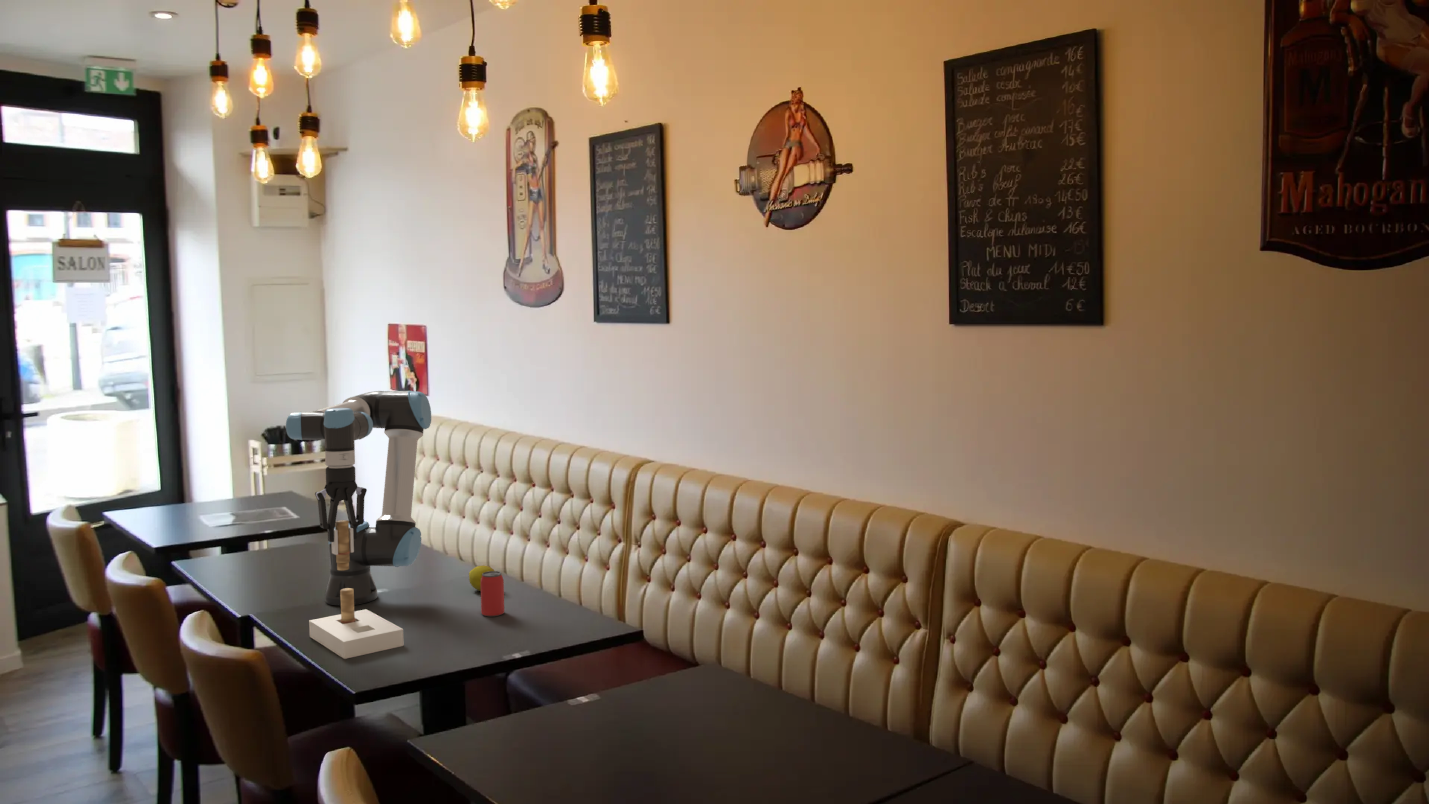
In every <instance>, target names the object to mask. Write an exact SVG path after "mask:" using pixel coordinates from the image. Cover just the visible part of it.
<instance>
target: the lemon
mask: <svg viewBox="0 0 1429 804" xmlns="http://www.w3.org/2000/svg"><path fill="white" fill-rule="evenodd" d="M489 571H495V570H494V568H492V567H490V566H488V565H484V564H483V565H478V566H475V567H474V568H472V569H471V570H470V571H469V573H468V577H469V578H468V580H469V584H470V585H471V586H472V587H473V588H474V589H475V590H476V591H480V592H481V578H482V574H483V573H484V572H489Z"/></svg>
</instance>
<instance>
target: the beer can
mask: <svg viewBox="0 0 1429 804" xmlns="http://www.w3.org/2000/svg"><path fill="white" fill-rule="evenodd" d="M504 582H505V581H504V578H503V575H502V572H501V571H498V570H497V571H496V570H494V571H489V572H484V573H483V574H482V578H481V591H480V608H481V609H480V610H481V611H480V612H481V615H482V616H484V617H492V618H493V617H499V616H502V615H503V614H504V613H505V585H504V584H505V583H504Z"/></svg>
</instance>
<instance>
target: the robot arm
mask: <svg viewBox="0 0 1429 804" xmlns="http://www.w3.org/2000/svg"><path fill="white" fill-rule="evenodd" d="M287 416H288V417H286V422H285V430H286V434H287V436H288V438H290V439H292V440H299V441H300V440H301V441H303V440H305V441H306V440H309V441H310V440H320V441H321V440H323V441H324V454H325V456H324V457H325V458H324V459H325V460H324V461H325V463H324V464H325V466H326V468H325V486H324V488H323V489H322V490H320V491H316V492H315V493H314V495H315V496H314V497H316V499H317V507H318V508H317V509H318V519H319V527H320V528H321V529H324V530H327V541H328V543H327V544H328V555H329V556H328V557H329V573H330V574H329V579H328V582H327V586H326V590H325V592H324V601H325V603H326V604H327V605H331V606H338V607H339V606H340V607H341V597H340V590H341V589H345V588H352V589H354V606H355V605H356V606H357V605H362V604H367V603H371V602H373V601H374V600H376V599H377V598H378V589H377V586H376V584H375V580H374V579H373V576H372V572H371V567H395V568H399V567H409V566H411V565H413V564H414V563H415V561H416V560H417V558H418V556H419V553H420V550H421V546H422V532H421V530H420V528H418V527H417V526H416V525H417V524H416V521H415V520H414V518H412V510H413V509H412V508H413V500H414V497H413V496H414V487H415V485H414V484H415V475H416V474H415V473H416V461H417V453H418V452H417V450H418V441H419V439H421V438H422V437H423V436H424V430H427V429H429V428H430V427H431V423H432V409H431V405H430V402H429V398H428V396H427V395H426V394H425V393H424V392H422V391H417V390H416V391H415V390H385V391H384V390H375V391H369V392H365V393H361V394H358V395H354V396H350V397H348V398H346V399H345V400H343V401H342V403H338V404H335V405H334V404H333V405H330V406H327V407H323V408H320V409H316V410H312V411H308V412H307V411H305V412H302V411H300V412H291V413H290V414H289V415H287ZM373 429H384V430H383V432H384V434H385V435H386V437H387V438H388V444H387V446H388V447H387V454H386V455H387V456H386V468H385V476H384V478H385V479H384V486H383V487H384V488H383V499H382V509H381V510H382V511H381V516H380V517H378V518H377V519H376V521H375V527H372V526H371V527H370V523H369V521H364V519H365V518H364V516H365V496H366V494H367V491H368V490H367V488H365V487H360V486H358V484H357V482H356V467H355V466H354V465H355V464H356V454H355V453H356V452H355V450H356V449H355V444H356V443H355V441H358V440H362V439H364V438H367V437H368V436H369V435H370V434H371V433H372V431H373ZM355 493H356V503H355V504H356V509H354V505H353V503H354V501H353V496H354V494H355ZM326 495H328V497H329V498H330V500H329V512H327V504H326V497H327V496H326ZM341 501H343V503H344V505H345V510H346V515H347V519H348V520H347V521H349V551H350V554H349V556H350V562H349V569H348V570H337V563H336V555H337V554H338V531H337V530H336V529H335V522H336V521H337V520H336V519H337V514H338V508H339V505H340V502H341ZM355 511H356V512H355ZM327 513H328V514H327ZM327 515H328V516H327Z"/></svg>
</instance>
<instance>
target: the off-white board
mask: <svg viewBox="0 0 1429 804" xmlns="http://www.w3.org/2000/svg"><path fill="white" fill-rule="evenodd" d="M354 615H355V622H352V623H347V624H342V623H341V613H340V614H335V615H329V616H325V617H320V618H316V619H309V620H308V625H309V626H308V627H309V638H311V639H313V640H314V641H316V642H317V643H319V644H321V645H322V646H323V647H325V648H326V649H327V650H329V651H331V652H333V653H335V655H338V656H339V657H340V658H342V659H343V660H346V659H349V658H355V657H359V656H363V655H369V654H372V653H378V652H381V651H386V650H390V649H391V650H392V649H396V648H401V647H403V646H404V645H405V643H404V629H403V628H402V627H400V626H398V625H396V624H395V623H393V622H391V621H389V620H387V619H385V618H383V617H381V616H380V615H377V614H376V613H375V612H372V611H371V610H368V609H366V608H365V609H362V610H361V609H360V610H354Z"/></svg>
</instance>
